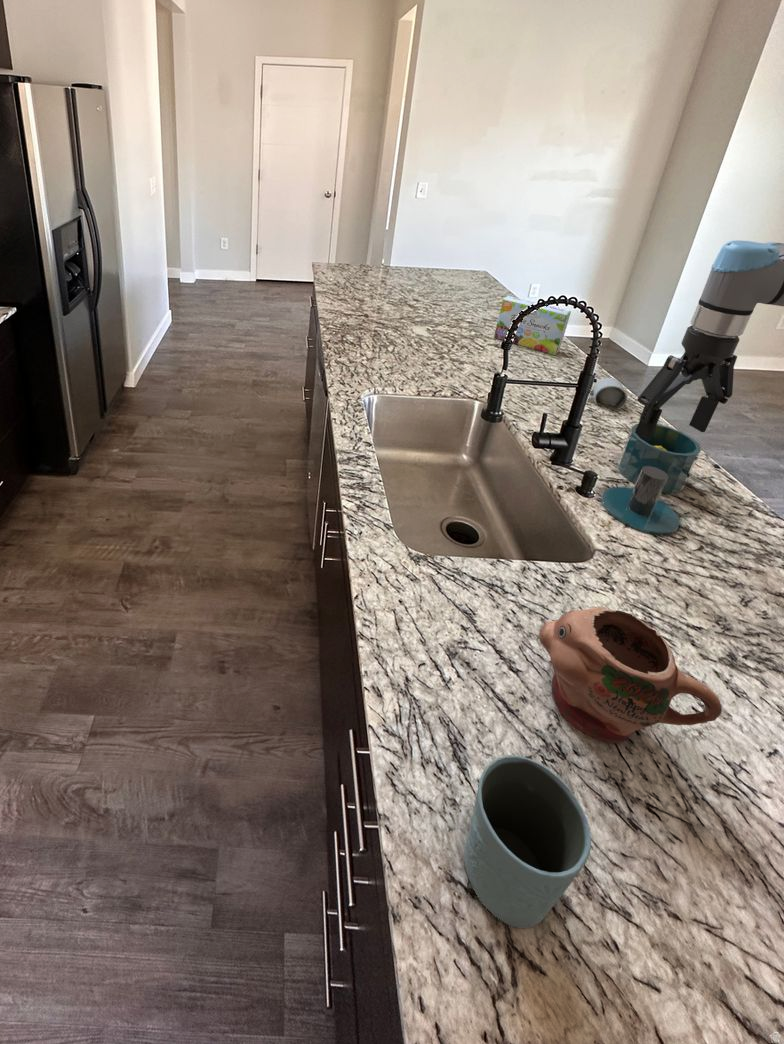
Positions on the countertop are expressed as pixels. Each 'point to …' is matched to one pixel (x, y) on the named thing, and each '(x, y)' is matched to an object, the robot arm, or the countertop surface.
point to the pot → (660, 456)
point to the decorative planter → (617, 675)
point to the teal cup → (524, 840)
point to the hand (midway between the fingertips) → (669, 432)
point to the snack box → (533, 325)
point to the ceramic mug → (609, 393)
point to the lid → (642, 504)
